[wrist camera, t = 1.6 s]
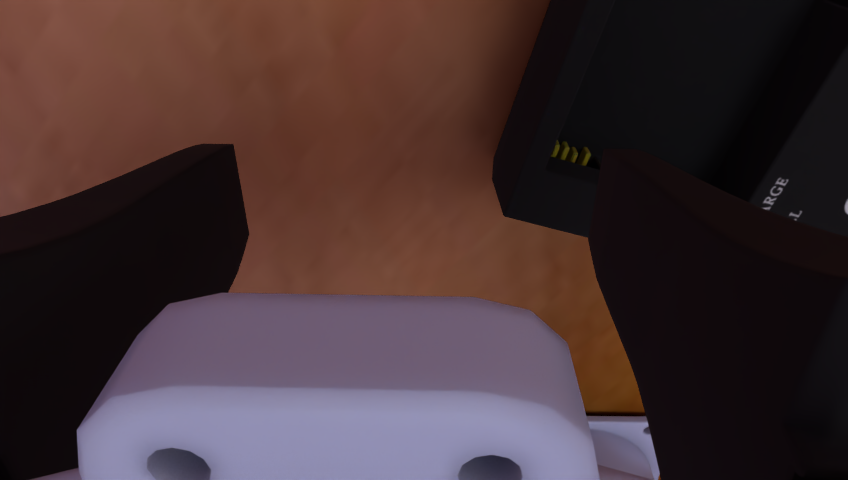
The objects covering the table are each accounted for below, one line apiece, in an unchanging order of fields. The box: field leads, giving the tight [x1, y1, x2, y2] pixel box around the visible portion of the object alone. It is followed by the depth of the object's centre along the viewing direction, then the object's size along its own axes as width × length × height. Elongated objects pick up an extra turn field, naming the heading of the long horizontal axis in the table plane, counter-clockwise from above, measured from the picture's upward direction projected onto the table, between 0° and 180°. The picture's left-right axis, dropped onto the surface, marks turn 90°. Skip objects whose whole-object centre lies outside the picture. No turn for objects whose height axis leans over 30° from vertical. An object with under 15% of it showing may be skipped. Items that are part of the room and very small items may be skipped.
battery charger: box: [492, 0, 848, 237], centre depth 17 cm, size 13×10×4 cm
